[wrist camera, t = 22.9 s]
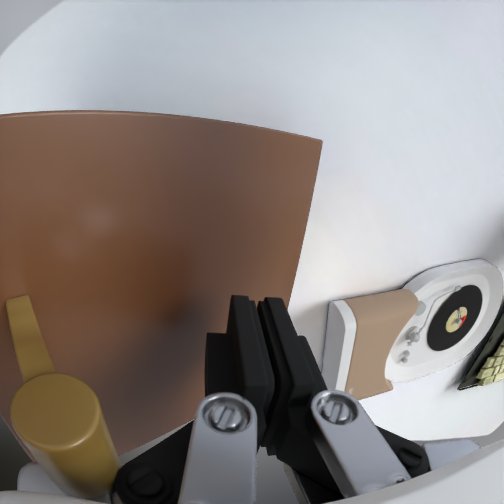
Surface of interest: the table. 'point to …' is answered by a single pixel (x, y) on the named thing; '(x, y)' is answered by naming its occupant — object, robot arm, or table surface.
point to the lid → (132, 270)
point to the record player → (410, 328)
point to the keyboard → (488, 361)
